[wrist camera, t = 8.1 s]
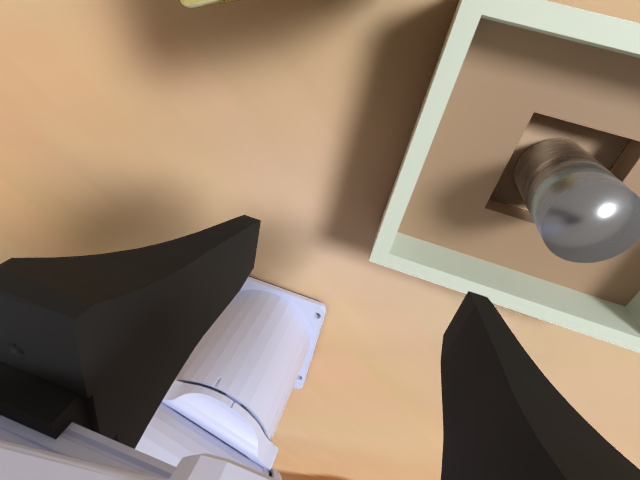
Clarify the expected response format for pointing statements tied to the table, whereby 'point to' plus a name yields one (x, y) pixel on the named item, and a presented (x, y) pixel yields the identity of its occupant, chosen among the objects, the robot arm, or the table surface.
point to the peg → (577, 202)
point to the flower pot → (202, 2)
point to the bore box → (496, 150)
